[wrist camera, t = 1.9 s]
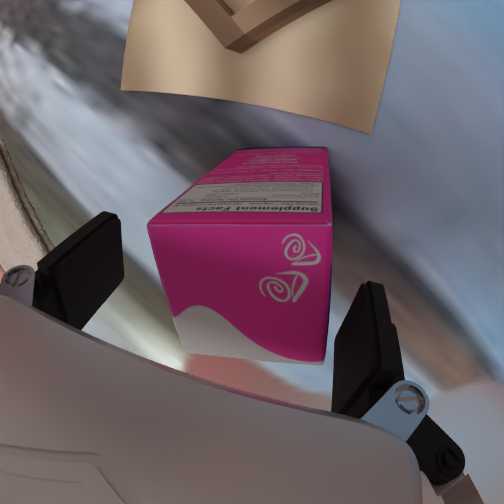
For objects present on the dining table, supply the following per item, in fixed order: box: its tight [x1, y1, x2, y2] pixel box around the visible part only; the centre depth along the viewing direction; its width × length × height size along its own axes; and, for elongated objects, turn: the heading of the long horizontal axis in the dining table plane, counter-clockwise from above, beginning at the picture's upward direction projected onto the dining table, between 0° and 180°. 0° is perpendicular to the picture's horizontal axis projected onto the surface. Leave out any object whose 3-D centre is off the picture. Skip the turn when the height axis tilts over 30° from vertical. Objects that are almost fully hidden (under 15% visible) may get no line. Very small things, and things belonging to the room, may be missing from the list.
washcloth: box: [0, 139, 54, 272], centre depth 27 cm, size 12×18×3 cm, turn 25°
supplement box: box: [147, 147, 333, 365], centre depth 15 cm, size 6×6×12 cm
